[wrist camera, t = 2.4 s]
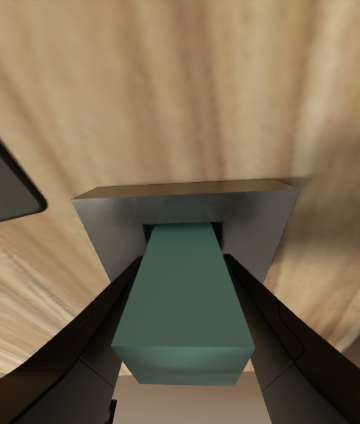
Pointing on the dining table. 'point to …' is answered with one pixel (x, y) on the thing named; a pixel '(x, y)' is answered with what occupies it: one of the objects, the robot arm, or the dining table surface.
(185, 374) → the teal square block
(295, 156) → the dining table surface
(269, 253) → the gray rectangular frame
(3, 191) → the smartphone
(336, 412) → the robot arm
